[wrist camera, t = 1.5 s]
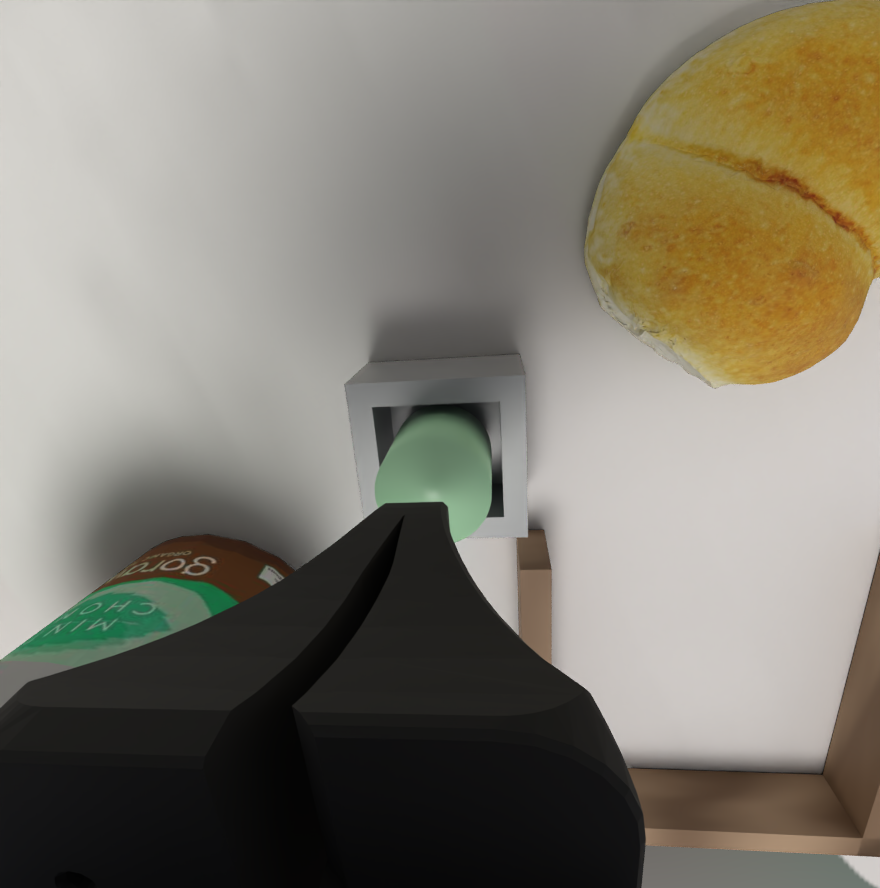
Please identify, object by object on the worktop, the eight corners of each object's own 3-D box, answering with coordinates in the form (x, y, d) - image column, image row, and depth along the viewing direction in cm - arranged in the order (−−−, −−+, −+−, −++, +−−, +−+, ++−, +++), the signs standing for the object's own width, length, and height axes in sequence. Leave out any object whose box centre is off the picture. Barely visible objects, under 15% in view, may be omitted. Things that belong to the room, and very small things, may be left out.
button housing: (519, 353, 17) (525, 375, 14) (522, 493, 18) (528, 537, 15) (368, 362, 17) (344, 384, 14) (385, 496, 19) (366, 540, 16)
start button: (489, 402, 15) (489, 436, 12) (493, 493, 16) (493, 544, 13) (390, 406, 15) (367, 441, 13) (400, 496, 17) (381, 546, 14)
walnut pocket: (919, 523, 17) (986, 565, 15) (843, 792, 22) (885, 857, 19) (516, 530, 19) (519, 569, 16) (522, 780, 23) (526, 839, 21)
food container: (280, 462, 19) (72, 671, 9) (356, 593, 21) (245, 878, 11) (35, 563, 22) (-312, 802, 12) (121, 671, 23) (-126, 952, 14)
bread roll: (983, 148, 14) (1167, 110, 10) (734, 409, 17) (803, 455, 13) (751, -57, 13) (860, -185, 9) (530, 262, 16) (543, 266, 12)
